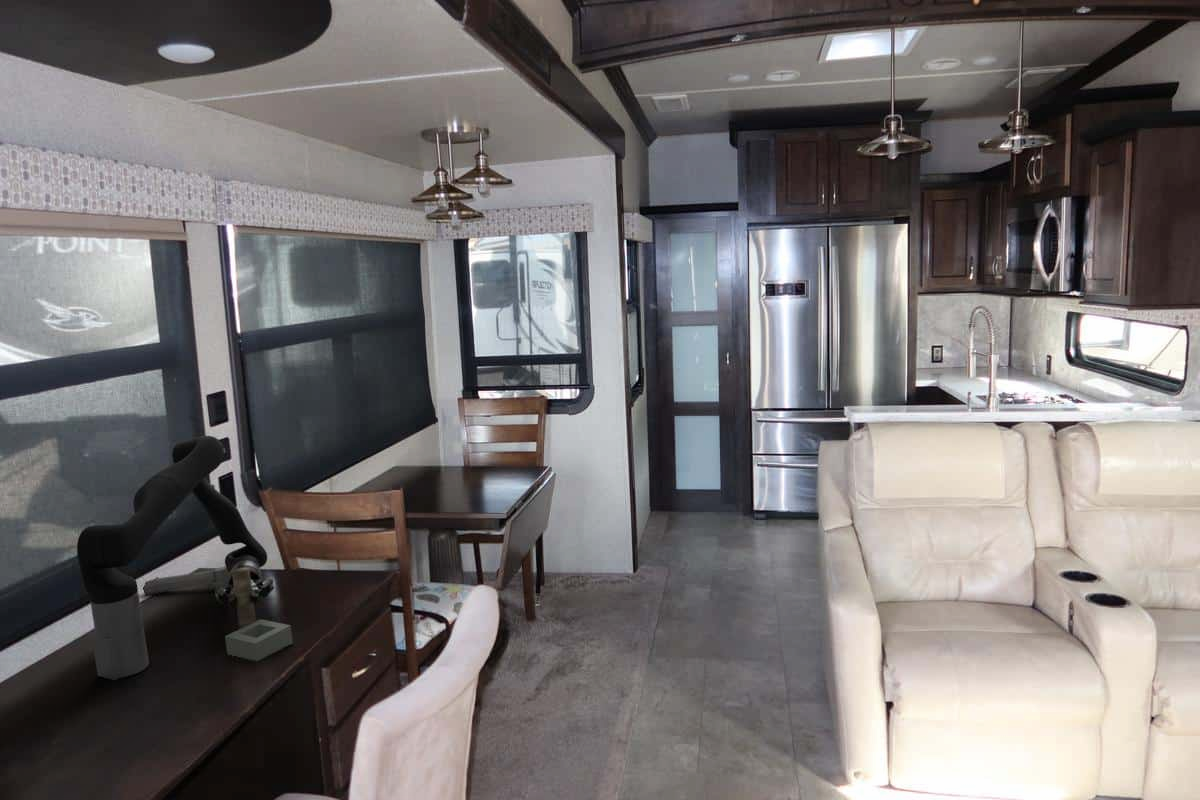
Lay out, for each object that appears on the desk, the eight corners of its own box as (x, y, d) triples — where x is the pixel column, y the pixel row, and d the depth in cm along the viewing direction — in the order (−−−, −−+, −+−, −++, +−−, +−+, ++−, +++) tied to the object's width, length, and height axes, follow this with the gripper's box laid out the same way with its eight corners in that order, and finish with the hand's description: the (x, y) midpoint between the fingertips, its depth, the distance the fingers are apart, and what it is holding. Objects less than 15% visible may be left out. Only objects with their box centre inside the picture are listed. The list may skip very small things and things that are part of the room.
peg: (247, 638, 204) (239, 574, 201) (237, 635, 206) (228, 572, 203) (260, 631, 207) (252, 568, 204) (250, 629, 209) (241, 566, 206)
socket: (257, 662, 191) (255, 643, 190) (227, 654, 195) (224, 636, 195) (292, 643, 199) (290, 625, 198) (263, 636, 204) (260, 619, 203)
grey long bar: (147, 577, 239) (235, 559, 240) (154, 599, 241) (241, 581, 241) (138, 584, 234) (228, 566, 235) (145, 607, 235) (234, 588, 236)
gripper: (212, 570, 215) (209, 593, 199) (273, 559, 220) (274, 581, 204) (216, 598, 216) (213, 623, 200) (276, 587, 221) (277, 611, 205)
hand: (244, 602), depth 202 cm, fingers closed on peg, 3 cm apart
